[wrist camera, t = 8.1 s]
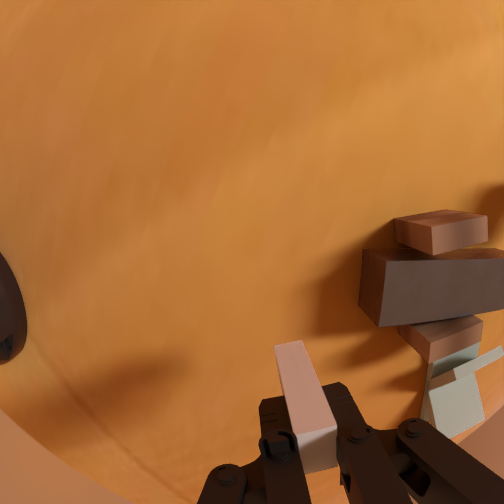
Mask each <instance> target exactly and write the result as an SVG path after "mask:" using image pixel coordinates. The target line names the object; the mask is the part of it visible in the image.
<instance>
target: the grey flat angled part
mask: <svg viewBox="0 0 504 504" xmlns="http://www.w3.org/2000/svg"><path fill="white" fill-rule="evenodd" d="M479 344H480V342H478V343H476V344H474V345H472V346H470V347H467V348H465V349H463V350H461V351H458V352H456V353H454V354H451V355H449V356H447V357H444V358H442V359H439V360H437V361H434V362H432V363H429V364H428V370H427V377H426V383H425V390H424V397H423V403H422V408H421V413H420V419H423V420H425V421H427V422H429V421H431V425H432V426H433V427H435V428H436V429H437V430H438V431H440V432H441V433H442V434H444V435H445V436H446V437H448V438H449V439H450V438H452V437H454V436H456V435H458V434H460V433H462V432H464V431H465V430H467V429H469V428H471V427H473V426H475V425H476V424H478V423H480V422H481V421H483V420H485V416H484V411H483V407H482V402H481V398H480V393H479V389H478V385H477V381H476V378H475V374H474V371H476V370H478V369H480V368H482V367H484V366H486V365H488V364H490V363H491V362H493V361H495V360H497V359H499V358H500V357H502V356H504V352H503V349H502V346H501V345H500V346H498V347H496V348H495V349H493V350H491V351H489V352H487V353H485V354H483V355H481V356H479V357H477V355H478V350H479Z"/></svg>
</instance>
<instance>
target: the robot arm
mask: <svg viewBox="0 0 504 504" xmlns="http://www.w3.org/2000/svg"><path fill="white" fill-rule="evenodd" d="M26 336H27V320H26V312H25V307H24V303H23V299H22V295H21V292H20V289H19V286H18V284H17V281H16V279H15V277H14V274H13V272H12V270H11V268H10V267H9V265H8V263H7V261H6V260H5V258H4V257H3V256H2V254H1V253H0V365H2V364H5V363H7V362H9V361H10V360H12V359H13V358H14V357H15V356H17V355H18V354H19V353H20V352H21V351H22V349H23V347H24V345H25V341H26ZM274 350H275V356H276V361H277V367H278V372H279V378H280V383H281V388H282V393H283V396H279V397H273V398H268V399H262V401H261V404H260V406H259V416H260V426H261V435H262V437H261V438H260V439H259V444H258V445H259V449H260V452H261V455H260V456H259V457H258V458H257V459H256V460H255V461H253V462H251V463H250V464H247V465H244V466H242V467H239V466H237V465H233V464H223V465H220V466H217V467H216V468H214V469H213V470H212V471H211V472H210V473H209V475H208V477H207V480H206V482H205V485H204V487H203V490H202V492H201V495H200V497H199V500H198V502H197V504H312V503H311V499H310V495H309V491H308V486H307V482H306V478H305V474H309V473H313V472H318V471H322V470H326V469H330V468H333V467H337V461H338V464H339V467H340V485H344V488H345V491H346V494H347V497H348V500H349V503H350V504H413V503H412V501H411V499H410V497H409V495H408V493H409V494H410V495H411V496H412V498H413V499H414V500H415V501H417V503H418V504H504V480H503V479H502V478H501V477H499V476H498V475H497V474H495V473H494V472H493V471H491V470H490V469H488V468H487V467H486V466H485V465H483V464H482V463H480V462H479V461H478V460H476V459H475V458H474V457H472V456H471V455H470V454H468V453H467V452H466V451H465V450H463V449H462V448H461V447H459V446H458V445H457V444H455V443H454V442H453V441H451V440H450V439H449V438H448V437H446V436H445V435H444V434H442V433H441V432H440V431H438V430H437V429H436V428H435V427H433V426H432V425H431V424H429V423H428V422H427V421H425V420H423V419H420V418H411V419H407V420H405V421H403V422H402V423H401V424H400V425H399V426H398V429H392V430H377V429H373V428H372V427H371V426H369V425H367V424H366V422H365V421H364V419H363V417H362V415H361V413H360V411H359V409H358V407H357V405H356V403H355V402H354V400H353V398H352V396H351V394H350V392H349V390H348V388H347V387H346V386H345V385H343V384H342V383H340V382H337V383H333V384H329V385H325V386H321V385H320V382H319V380H318V377H317V375H316V373H315V370H314V368H313V365H312V363H311V361H310V358H309V356H308V353H307V351H306V349H305V346H304V344H303V341H302V340H298V341H294V342H289V343H284V344H279V345H274ZM407 492H408V493H407Z"/></svg>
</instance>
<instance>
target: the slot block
mask: <svg viewBox="0 0 504 504" xmlns="http://www.w3.org/2000/svg"><path fill="white" fill-rule="evenodd" d="M394 229H395V239H396V242H399V243H401V244H404V245H407V246H409V247H412V248H415V249H417V250H420V251H423V252H425V253H428V254H430V255H437V254H441V253H445V252H449V251H452V250H456V249H460V248H464V247H468V246H471V245H475V244H479V243H483V242H486V241H488V222H487V215H480V214H474V213H467V212H460V211H453V210H440V211H434V212H428V213H423V214H417V215H411V216H405V217H400V218H394ZM482 328H483V321H482V320H480V319H479V318H477V317H475V316H474V315H469V316H463V317H456V318H450V319H443V320H436V321H429V322H421V323H413V324H405V325H399V334H400V335H401V336H402V337H403V338H404V339H405V340H406V341H407V342H408V343H409V344H410V345H411V346H412V347H413V348H414V349H415V350H416V351H417V352H418V353H419V354H420V355H421V356H422V357H423V358H424V359H425V361H426V362H427V363H428V364H429V363H432V362H434V361H437V360H439V359H442V358H444V357H447V356H449V355H451V354H454V353H456V352H458V351H461V350H463V349H465V348H467V347H470V346H472V345H474V344H476V343H478V342H480V341H481V335H482Z"/></svg>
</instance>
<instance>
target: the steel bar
mask: <svg viewBox="0 0 504 504" xmlns="http://www.w3.org/2000/svg"><path fill="white" fill-rule="evenodd" d="M358 306H359V307H360V308H361V309H362V310H363V311H364V312H365V313H366V314H367V315H368V316H369V317H370V319H371V320H372V321H373V322H374V323H375V324H376V325H377V326H378V327H386V326H396V325H405V324H413V323H421V322H429V321H436V320H443V319H450V318H456V317H463V316H469V315H474V314H480V313H486V312H491V311H496V310H501V309H504V251H502V250H499V249H496V248H472V249H456V250H452V251H449V252H445V253H441V254H437V255H430V254H428V253H425V252H423V251H420V250H417V249H363V254H362V268H361V280H360V291H359V301H358Z"/></svg>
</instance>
